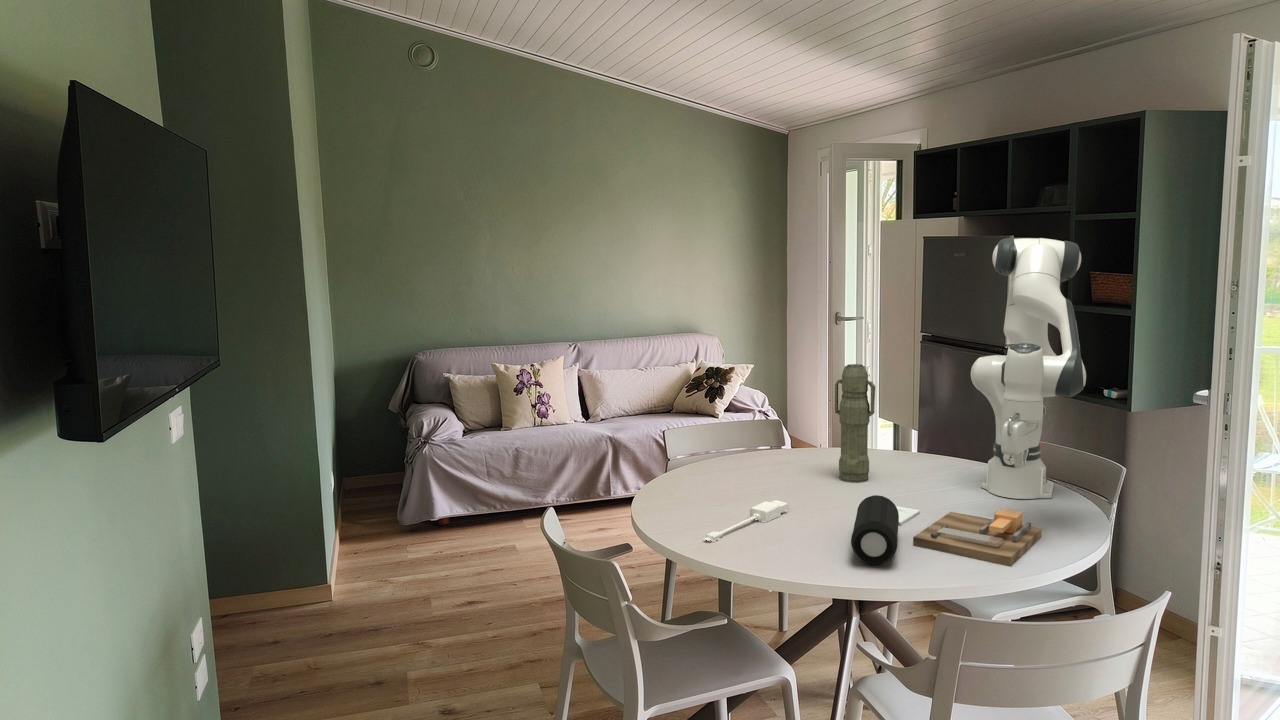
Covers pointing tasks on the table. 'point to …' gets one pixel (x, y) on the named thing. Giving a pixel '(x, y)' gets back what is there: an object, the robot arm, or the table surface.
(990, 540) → the grey flat bar
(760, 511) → the charging cable
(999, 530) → the bolt
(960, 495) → the table surface
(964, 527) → the base
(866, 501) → the portable speaker
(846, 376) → the thermos
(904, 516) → the external hard drive
